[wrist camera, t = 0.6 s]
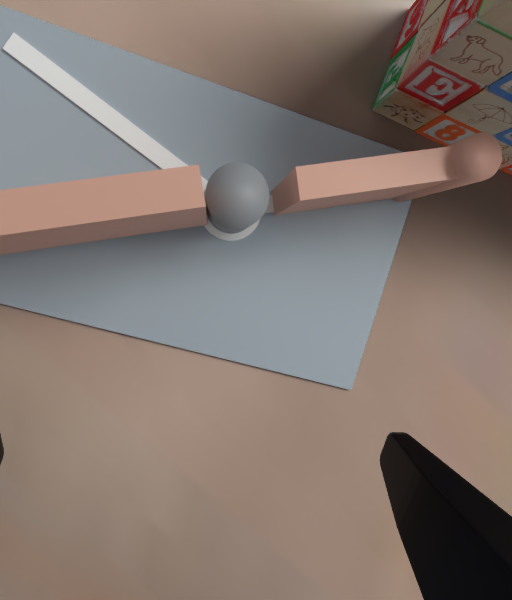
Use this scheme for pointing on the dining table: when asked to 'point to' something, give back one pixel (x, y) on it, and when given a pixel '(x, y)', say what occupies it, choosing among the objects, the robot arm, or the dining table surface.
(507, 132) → the stack of blocks
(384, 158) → the fixed fence section
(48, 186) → the fence panel
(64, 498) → the dining table surface
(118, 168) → the board
